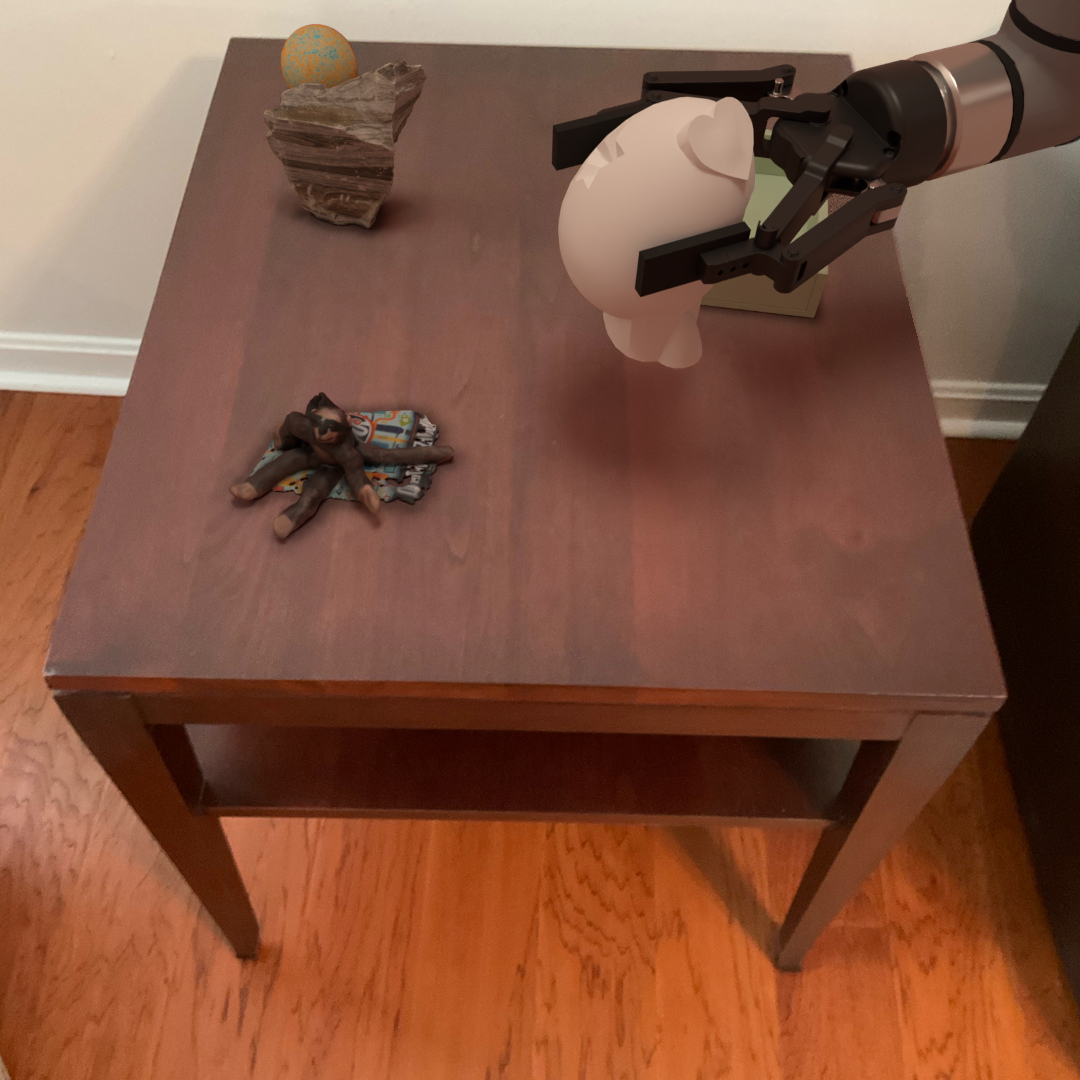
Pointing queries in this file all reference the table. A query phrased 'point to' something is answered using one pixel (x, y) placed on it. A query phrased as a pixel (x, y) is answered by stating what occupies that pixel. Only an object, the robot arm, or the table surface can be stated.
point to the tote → (759, 289)
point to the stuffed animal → (344, 459)
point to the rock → (344, 140)
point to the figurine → (655, 216)
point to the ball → (317, 57)
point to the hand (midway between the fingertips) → (594, 208)
